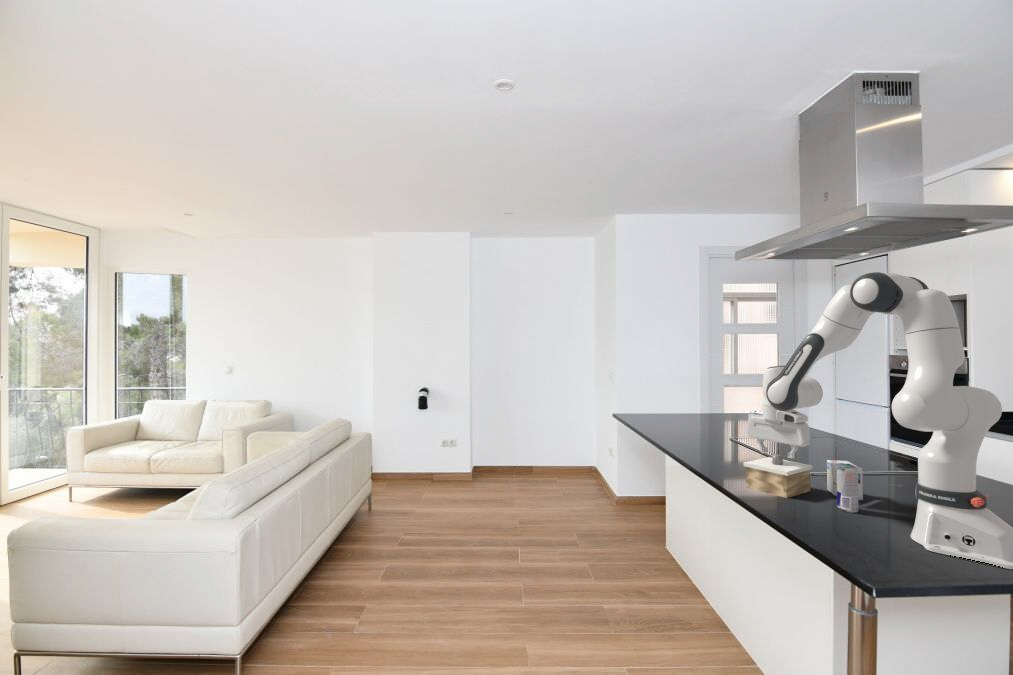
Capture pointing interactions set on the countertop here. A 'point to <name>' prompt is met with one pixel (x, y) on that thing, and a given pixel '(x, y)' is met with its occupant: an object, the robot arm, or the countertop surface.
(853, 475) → the energy drink
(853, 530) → the countertop surface
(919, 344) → the robot arm
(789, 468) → the lid
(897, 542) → the countertop surface
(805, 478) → the box
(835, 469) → the light bulb box
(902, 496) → the countertop surface
